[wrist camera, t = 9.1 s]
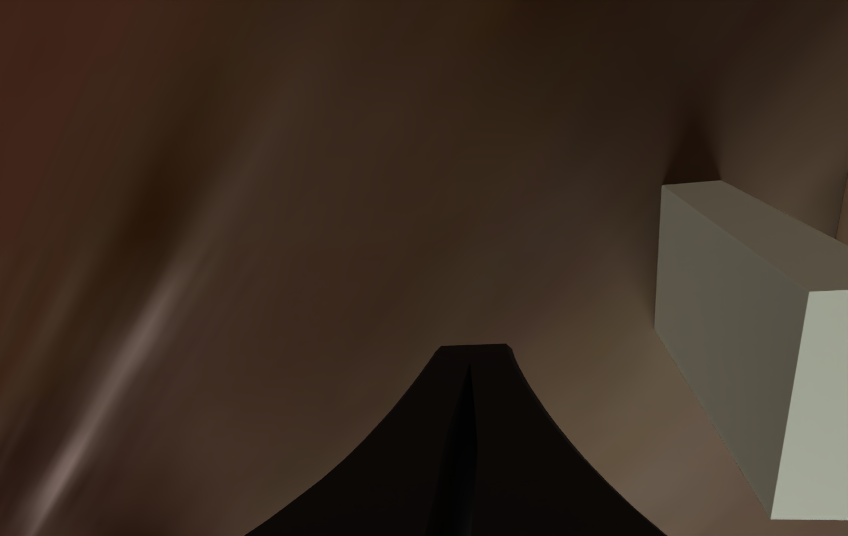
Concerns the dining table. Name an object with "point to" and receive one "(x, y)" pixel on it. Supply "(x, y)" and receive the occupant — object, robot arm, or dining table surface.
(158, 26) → the dining table surface
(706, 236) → the sage domino
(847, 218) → the maple domino
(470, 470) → the robot arm
